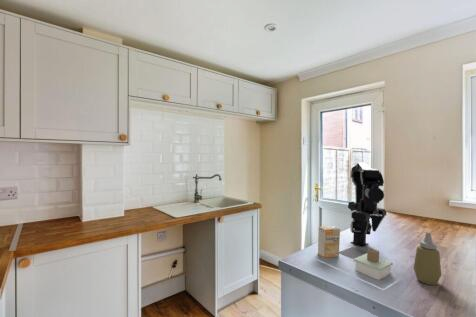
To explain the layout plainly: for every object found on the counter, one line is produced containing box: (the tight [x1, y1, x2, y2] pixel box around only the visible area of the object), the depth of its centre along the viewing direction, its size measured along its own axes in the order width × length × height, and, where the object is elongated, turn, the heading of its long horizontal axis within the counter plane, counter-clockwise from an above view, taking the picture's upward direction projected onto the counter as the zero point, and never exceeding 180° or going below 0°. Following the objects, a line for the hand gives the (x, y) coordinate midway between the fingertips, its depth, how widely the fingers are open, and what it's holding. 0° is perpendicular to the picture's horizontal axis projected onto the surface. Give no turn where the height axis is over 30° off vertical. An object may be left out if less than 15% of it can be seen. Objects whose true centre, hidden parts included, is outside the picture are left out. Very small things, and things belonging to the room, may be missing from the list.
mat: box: [339, 246, 381, 260], centre depth 110 cm, size 13×13×1 cm
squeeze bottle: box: [413, 231, 442, 286], centre depth 88 cm, size 8×8×18 cm
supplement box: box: [317, 225, 341, 259], centre depth 109 cm, size 8×5×13 cm, turn 105°
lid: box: [353, 248, 394, 271], centre depth 94 cm, size 10×10×5 cm
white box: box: [354, 262, 392, 281], centre depth 94 cm, size 9×9×4 cm
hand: (368, 233), depth 105 cm, fingers open, 9 cm apart
